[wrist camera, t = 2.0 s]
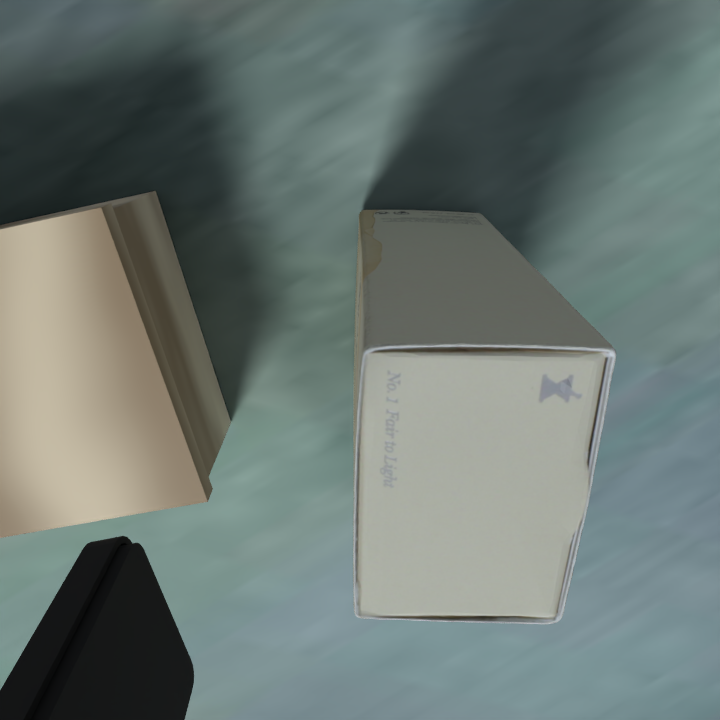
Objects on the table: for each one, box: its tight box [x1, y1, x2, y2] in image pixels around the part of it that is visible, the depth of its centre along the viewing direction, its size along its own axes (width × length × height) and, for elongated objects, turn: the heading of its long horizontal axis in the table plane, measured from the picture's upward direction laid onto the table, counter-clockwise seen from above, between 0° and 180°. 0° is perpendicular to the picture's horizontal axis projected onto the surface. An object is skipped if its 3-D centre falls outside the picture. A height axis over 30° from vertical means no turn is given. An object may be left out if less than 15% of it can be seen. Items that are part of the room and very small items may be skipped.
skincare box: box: [353, 210, 616, 624], centre depth 17 cm, size 6×4×12 cm
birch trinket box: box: [0, 191, 231, 538], centre depth 21 cm, size 12×9×5 cm
